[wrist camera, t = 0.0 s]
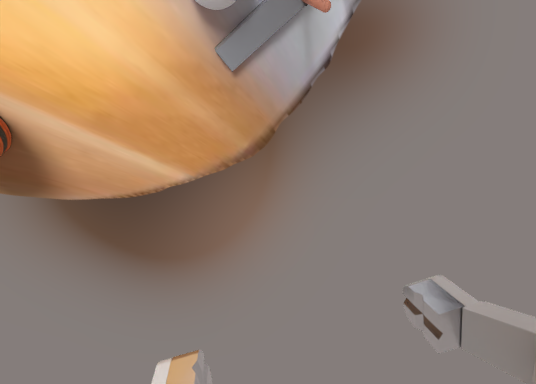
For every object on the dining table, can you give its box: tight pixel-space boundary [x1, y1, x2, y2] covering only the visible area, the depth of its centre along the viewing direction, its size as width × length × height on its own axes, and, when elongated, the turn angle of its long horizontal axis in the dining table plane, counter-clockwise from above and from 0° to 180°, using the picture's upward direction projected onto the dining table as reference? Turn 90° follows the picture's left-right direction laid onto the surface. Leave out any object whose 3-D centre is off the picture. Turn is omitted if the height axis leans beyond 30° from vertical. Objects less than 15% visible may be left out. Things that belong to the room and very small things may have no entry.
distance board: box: [215, 0, 331, 72], centre depth 44 cm, size 5×28×12 cm, turn 125°
